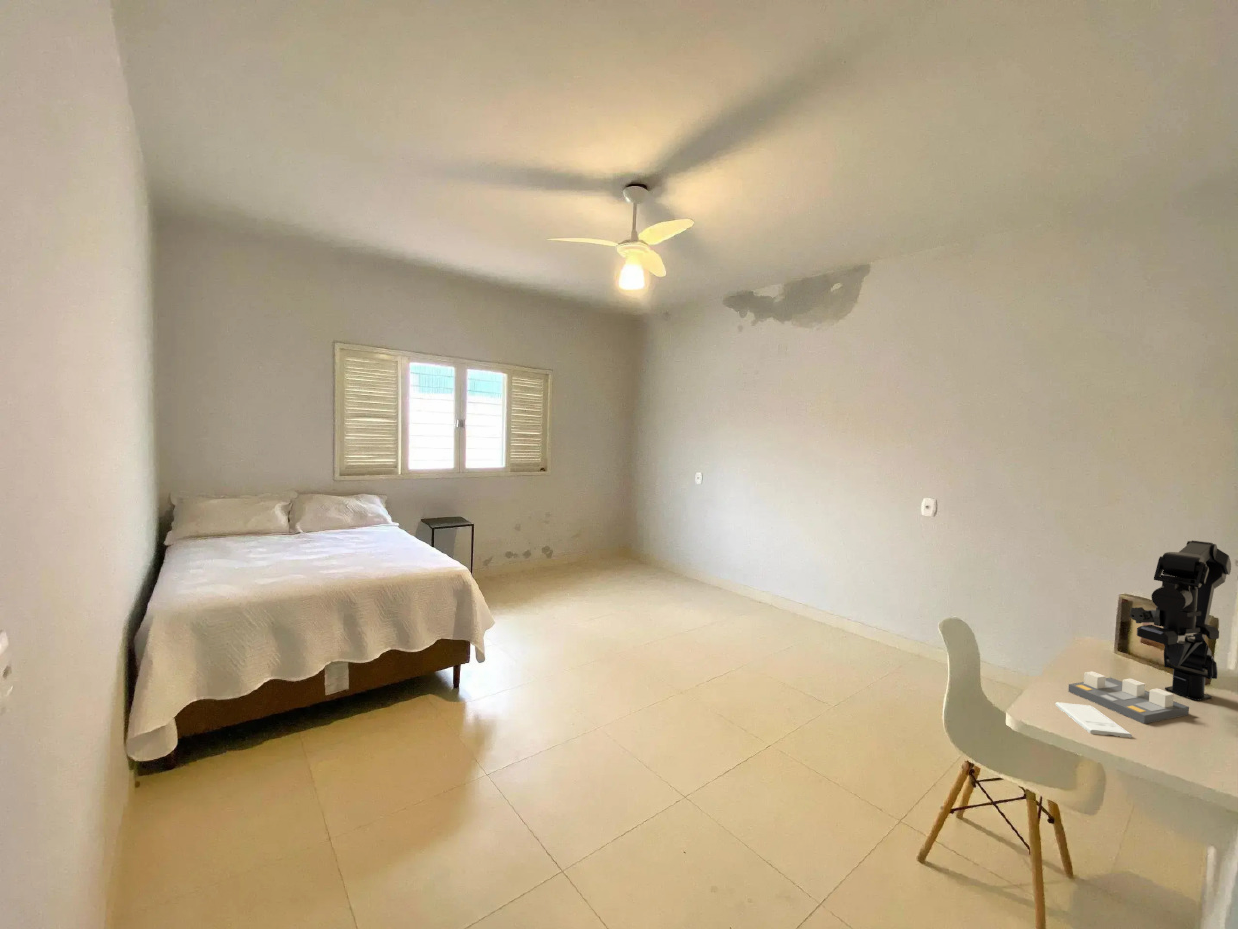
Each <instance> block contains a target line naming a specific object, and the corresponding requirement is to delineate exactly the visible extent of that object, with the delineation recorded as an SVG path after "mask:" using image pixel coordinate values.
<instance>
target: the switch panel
mask: <svg viewBox="0 0 1238 929" xmlns="http://www.w3.org/2000/svg"><path fill="white" fill-rule="evenodd" d="M1122 682H1123V680H1122V681H1121V680H1119V679H1116V678H1113V677H1111V676H1110V677H1106V679H1105V688H1099V689H1096V688H1094V687H1091V686H1089V685H1086V684H1084V681H1081V682H1074V683H1070V684H1069V683H1068V692H1069V693H1071V694H1073V693H1074V695H1075V696H1078V695H1079V697H1080V696H1081V697H1080V698H1083V699H1085V700H1087V699H1088V700H1087V701H1090V702H1092V703H1094V702H1095V703H1094V704H1097V705H1099V706H1101V705H1102V707H1104V708H1106V707H1107V709H1108V708H1109V709H1108V710H1111V711H1113V712H1115V711H1116V712H1115V713H1117V714H1119V715H1123V716H1125V717H1128V718H1130V719H1132V720H1134V721H1137V722H1139V723H1141V724H1149V723H1155V722H1158V721H1165V720H1170V719H1174V718H1175V719H1176V718H1180V717H1184V716H1189V713H1190V706H1188V705H1185V704H1183V703H1180V702H1177V701H1175V700H1173V706H1171V707H1165V708H1164V707H1162V706H1159V705H1157V704H1154V703H1151V702H1149V693H1150V691H1147V690H1146V689H1145V695H1143V696H1137V697H1136V696H1133V695H1131V694H1128V693H1126V692H1123V691H1122Z"/></svg>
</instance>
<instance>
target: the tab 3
mask: <svg viewBox="0 0 1238 929" xmlns="http://www.w3.org/2000/svg"><path fill="white" fill-rule="evenodd" d="M1149 692H1150V693H1149V702H1151V703H1154V704H1157V705H1159V706H1162V707H1164V708H1165V707H1171V706H1173V701H1174V694H1175V693H1173V692H1170V691H1167V690H1165V689H1160V688H1153V689H1149Z"/></svg>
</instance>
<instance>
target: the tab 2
mask: <svg viewBox="0 0 1238 929" xmlns="http://www.w3.org/2000/svg"><path fill="white" fill-rule="evenodd" d="M1145 690H1146V683H1144V682H1141V681H1139V680H1136V679H1133V678H1125V679H1122V691H1123V692H1126V693H1128V694H1131V695H1133V696H1136V697H1137V696H1143V695H1145Z"/></svg>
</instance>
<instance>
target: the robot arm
mask: <svg viewBox="0 0 1238 929" xmlns="http://www.w3.org/2000/svg"><path fill="white" fill-rule="evenodd" d="M1231 571H1232V562H1231V559H1230V555H1228V554H1227V552H1224V551H1222V550H1221V549H1219V548H1218V546H1217V544H1216V543H1213V542H1207V541H1199V540H1188V541H1187V542H1186V545H1185V546H1184V547H1183V548H1181V549H1180V550H1179V551H1178V552H1177V551H1167V552H1164V553H1163V555H1162V556H1159V558H1158V560H1157V565H1156V568H1155V573H1154V576H1153V580H1154V581H1158V582H1161V583H1162V584H1161V586H1160V587H1159V588H1156V589H1155V590H1154V591H1152V593H1151V596H1150V598H1151V601H1152V603H1153V604H1154V605H1155V606H1156V608H1155V609H1145V608H1144V607H1141V606H1140V607H1138V606H1137V607H1131V608H1130V611H1129V615H1128V616H1129V618H1131V619H1132V620H1133V621H1135V624H1142V623H1143V624H1144V623H1150V624H1146V625H1141V626H1138V627H1137V628H1136V637H1139V638H1142V639H1145V640H1149V641H1153V642H1155V643H1158V644H1161V645H1164V646H1163V647H1164V649H1163V667H1164V668H1168V669H1172V685H1171V686H1165V687H1164V691H1167V692H1169V693H1172V694H1176V695H1179V696H1182V697H1185V698H1188V699H1190V700H1193V701H1197V702H1198V701H1203V700H1208V699H1212V698H1213V696H1212V695H1210V694H1207V693H1205V691H1206V690H1205V688H1206V679H1208V680H1212V679H1213V680H1215V679H1216V680H1217V679H1218V666H1217V661H1216V660H1215V658H1214V656H1213V655H1212V650H1211V648H1210V647H1209V645H1208V644H1207V642H1206V638H1207V639H1208V640H1219V639H1220V630H1219V629H1218V628H1217V627H1215V626H1213V625H1210V624H1208V623H1209V617H1210V614H1211V607H1212V602H1213V597H1214V593H1215V592H1214V591H1215V589H1216V588H1218V587H1219V586H1222V585H1223V584H1224V583H1225V582H1226V579H1227V575H1229V576H1230V574H1231ZM1151 623H1153V624H1151Z"/></svg>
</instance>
